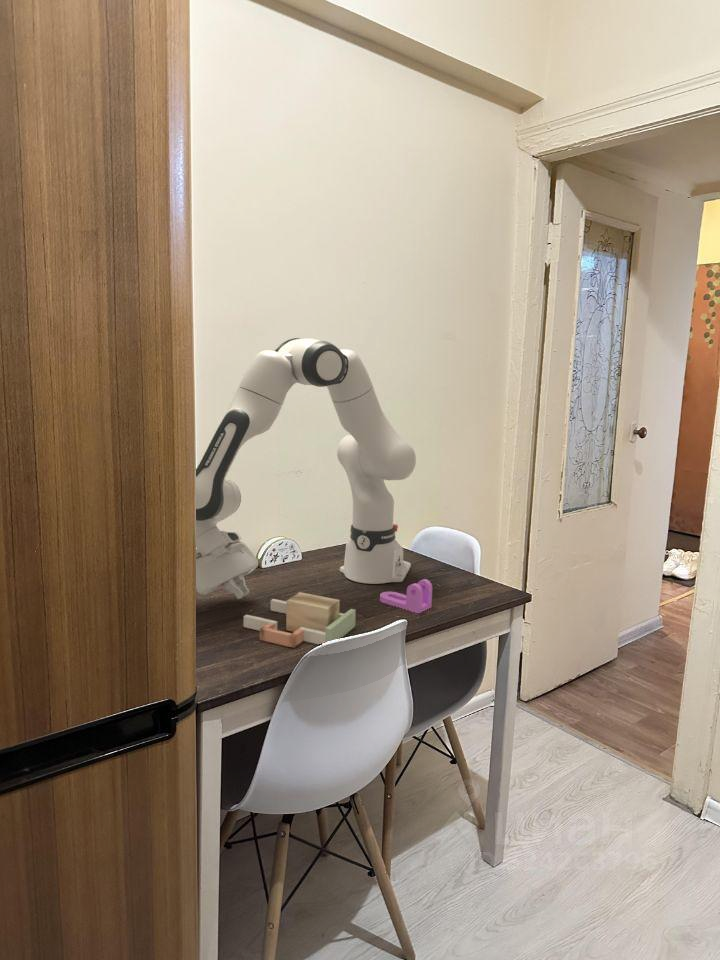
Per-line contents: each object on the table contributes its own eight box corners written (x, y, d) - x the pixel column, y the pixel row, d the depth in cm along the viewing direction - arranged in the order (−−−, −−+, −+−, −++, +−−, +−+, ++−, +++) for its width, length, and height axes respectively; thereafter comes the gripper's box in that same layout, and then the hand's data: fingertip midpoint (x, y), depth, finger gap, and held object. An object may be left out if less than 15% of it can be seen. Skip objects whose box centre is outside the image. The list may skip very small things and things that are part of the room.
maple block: (299, 621, 156) (299, 592, 154) (338, 629, 152) (339, 600, 150) (286, 630, 150) (286, 600, 149) (326, 639, 146) (327, 608, 145)
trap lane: (281, 603, 166) (282, 587, 165) (362, 620, 157) (363, 604, 156) (232, 633, 148) (232, 615, 147) (320, 654, 139) (321, 636, 138)
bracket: (431, 608, 166) (432, 581, 165) (418, 614, 162) (419, 586, 161) (388, 595, 174) (389, 569, 173) (375, 600, 170) (376, 574, 169)
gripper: (188, 552, 149) (225, 602, 147) (242, 531, 167) (275, 575, 165) (172, 568, 151) (208, 618, 149) (227, 546, 170) (260, 590, 168)
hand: (244, 595), depth 157 cm, fingers closed
